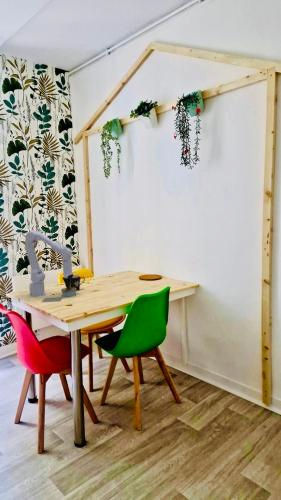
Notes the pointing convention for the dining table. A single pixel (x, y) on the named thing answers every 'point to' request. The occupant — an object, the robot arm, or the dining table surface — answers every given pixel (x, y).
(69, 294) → the bowl
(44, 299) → the mat
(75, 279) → the coffee mug
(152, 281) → the dining table surface
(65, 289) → the lid
